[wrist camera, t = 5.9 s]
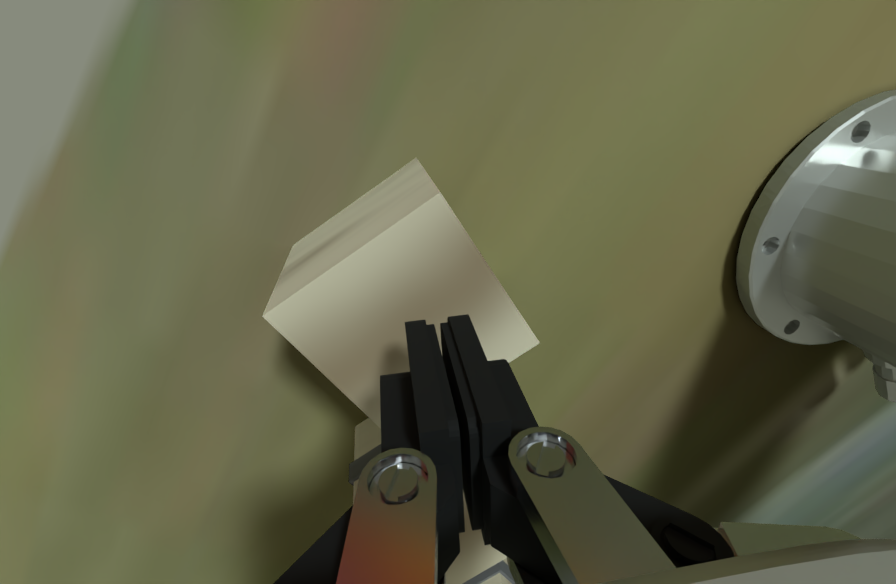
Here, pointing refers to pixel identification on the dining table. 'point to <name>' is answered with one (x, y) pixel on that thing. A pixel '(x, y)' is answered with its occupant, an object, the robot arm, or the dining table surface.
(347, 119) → the dining table surface
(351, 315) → the plain block
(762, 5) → the dining table surface
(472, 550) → the banded block one
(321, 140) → the dining table surface
